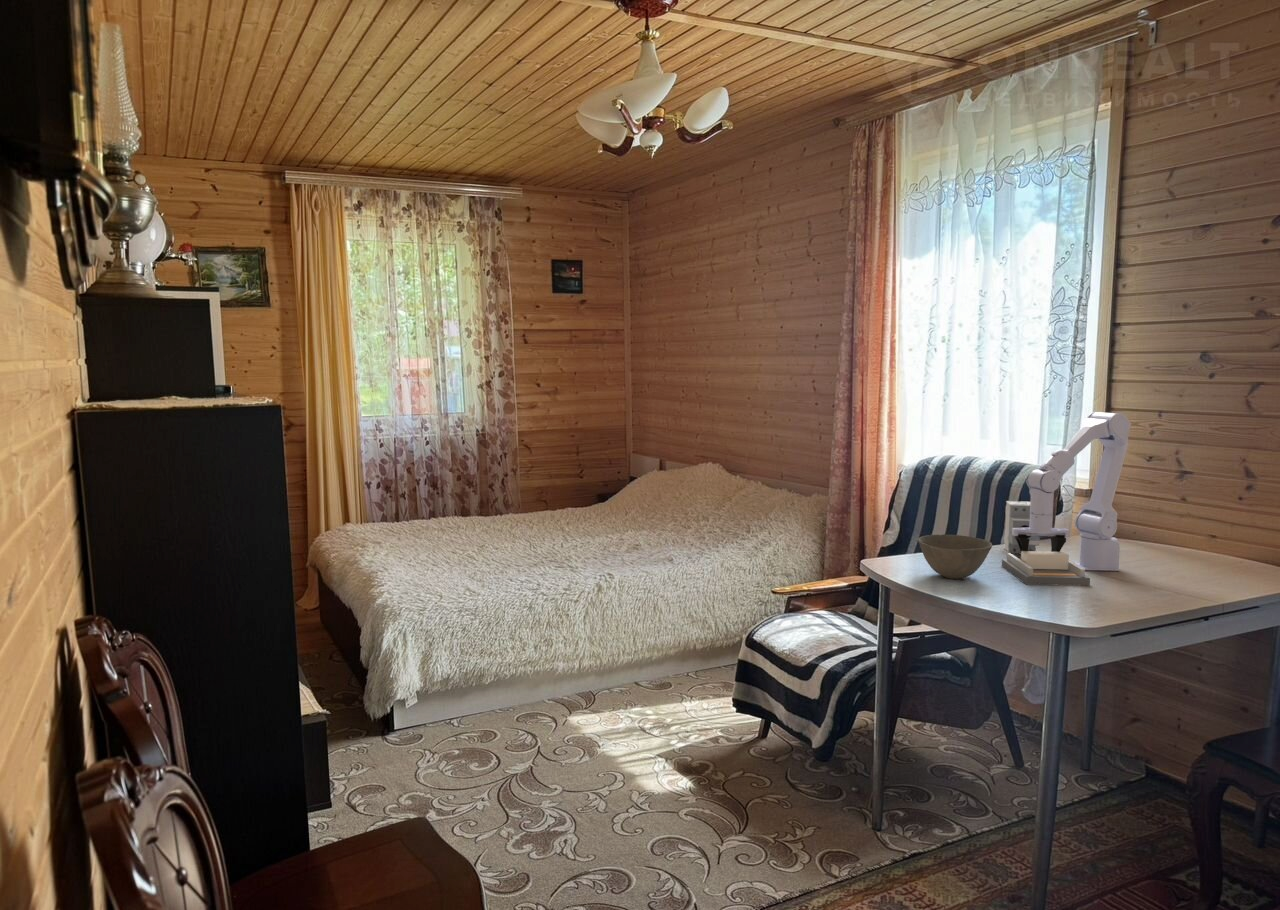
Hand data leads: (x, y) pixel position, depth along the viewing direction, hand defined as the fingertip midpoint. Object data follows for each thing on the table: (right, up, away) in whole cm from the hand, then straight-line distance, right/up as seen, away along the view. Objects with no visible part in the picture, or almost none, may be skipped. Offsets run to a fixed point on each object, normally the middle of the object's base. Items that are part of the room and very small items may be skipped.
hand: (1039, 561), depth 233 cm
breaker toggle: (0, -1, -4) cm, 4 cm away
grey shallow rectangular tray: (0, -3, -3) cm, 5 cm away
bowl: (-26, -4, -5) cm, 26 cm away
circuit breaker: (+5, -1, +23) cm, 24 cm away
